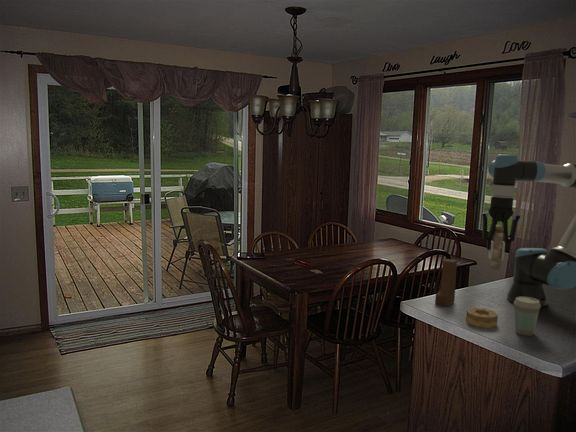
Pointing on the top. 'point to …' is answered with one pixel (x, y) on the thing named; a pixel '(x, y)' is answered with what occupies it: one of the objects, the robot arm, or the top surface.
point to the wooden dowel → (497, 247)
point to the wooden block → (447, 283)
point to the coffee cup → (526, 315)
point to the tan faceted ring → (481, 317)
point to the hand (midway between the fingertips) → (495, 258)
